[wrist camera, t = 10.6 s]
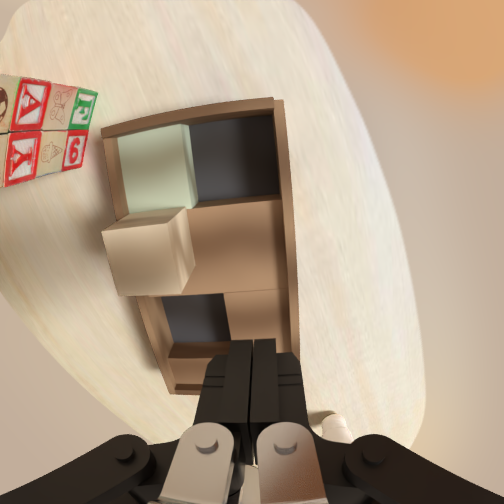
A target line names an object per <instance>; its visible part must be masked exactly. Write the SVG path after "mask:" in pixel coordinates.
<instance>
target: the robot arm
mask: <svg viewBox="0 0 504 504" xmlns="http://www.w3.org/2000/svg"><path fill="white" fill-rule="evenodd" d="M254 457H255V464H256V465H258V468H255V467H253V466H250V465H253V461H254ZM0 504H504V497H502V496H500V495H497V494H495V493H493V492H491V491H488V490H486V489H484V488H482V487H480V486H478V485H475V484H473V483H471V482H469V481H467V480H465V479H463V478H461V477H459V476H457V475H455V474H453V473H451V472H449V471H447V470H445V469H443V468H442V467H440V466H438V465H436V464H434V463H432V462H430V461H429V460H427V459H425V458H423V457H421V456H419V455H418V454H416V453H414V452H412V451H411V450H409V449H407V448H405V447H404V446H402V445H400V444H399V443H397V442H395V441H393V440H392V439H390V438H388V437H386V436H383V435H378V434H370V435H365V436H362V437H359V438H357V439H356V440H354V441H353V442H352V443H351V444H349V443H341V442H334V441H329V440H326V439H323V438H321V437H319V436H318V435H317V434H315V433H314V432H313V430H312V429H311V428H310V425H309V423H308V417H307V409H306V401H305V394H304V387H303V379H302V372H301V365H300V361H299V360H298V359H297V357H296V356H295V355H294V354H293V352H284V353H276V338H267V339H254V345H253V339H241V340H231V341H230V347H229V353H228V354H226V355H215V356H214V357H213V358H212V360H211V361H210V362H209V363H208V364H207V368H206V372H205V378H204V380H203V385H202V389H201V393H200V398H199V402H198V406H197V411H196V415H195V419H194V423H193V426H192V427H190V428H188V429H187V430H186V431H185V432H184V433H183V434H182V436H181V438H179V439H177V440H175V441H172V442H167V443H160V444H153V445H147V443H146V442H145V441H144V440H143V439H141V438H140V437H138V436H135V435H129V434H125V435H119V436H116V437H114V438H112V439H110V440H109V441H107V442H105V443H103V444H101V445H100V446H98V447H96V448H94V449H93V450H91V451H89V452H87V453H86V454H84V455H82V456H80V457H78V458H77V459H75V460H73V461H71V462H69V463H67V464H65V465H63V466H62V467H60V468H58V469H56V470H54V471H52V472H50V473H48V474H46V475H44V476H42V477H40V478H38V479H36V480H34V481H32V482H30V483H27V484H25V485H23V486H21V487H19V488H16V489H14V490H12V491H10V492H8V493H5V494H3V495H0Z"/></svg>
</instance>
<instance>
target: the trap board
mask: <svg viewBox="0 0 504 504" xmlns="http://www.w3.org/2000/svg"><path fill="white" fill-rule="evenodd" d="M101 135H102V138H103V143H104V150H105V158H106V165H107V171H108V177H109V183H110V189H111V195H112V200H113V206H114V211H115V216H116V220H117V221H119V220H120V219H122V218H124V217H125V216H127V215H129V214H132V213H139V212H146V211H154V210H161V209H169V208H177V207H186V210H187V217H188V223H189V229H190V235H191V242H192V247H193V253H194V259H195V267H194V269H193V271H192V273H191V275H190V277H189V279H188V281H187V283H186V285H185V287H184V289H183V291H182V293H181V294H167V295H142V296H136V300H137V303H138V306H139V310H140V313H141V316H142V319H143V322H144V325H145V328H146V331H147V334H148V337H149V340H150V343H151V346H152V349H153V352H154V354H155V357H156V360H157V363H158V365H159V368H160V371H161V373H162V376H163V378H164V381H165V384H166V386H167V389H168V391H169V393H170V394H178V395H200V393H201V389H202V385H203V380H204V378H205V372H206V368H207V364H208V363H209V362H210V361H211V360H212V358H213V357H214V356H215V355H226V354H228V353H229V347H230V341H231V340H241V339H253V345H254V339H267V338H276V353H284V352H293V354H294V355H295V356H296V357H297V359H298V360H299V361H300V335H299V303H298V279H297V259H296V241H295V225H294V210H293V197H292V184H291V172H290V160H289V149H288V139H287V129H286V119H285V110H284V101H283V100H274V98H273V97H268V98H257V99H247V100H238V101H230V102H223V103H216V104H209V105H203V106H196V107H191V108H185V109H180V110H175V111H170V112H165V113H160V114H156V115H151V116H147V117H143V118H138V119H134V120H130V121H127V122H123V123H119V124H115V125H112V126H108V127H105V128H102V129H101Z"/></svg>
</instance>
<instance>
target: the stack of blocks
mask: <svg viewBox="0 0 504 504" xmlns="http://www.w3.org/2000/svg"><path fill="white" fill-rule="evenodd" d="M97 95H98V92H95V91H92V90H88V89H85V88H81V87H74V86H66V85H61V84H55V83H51V82H50V81H46V80H40V79H34V78H27V77H18V76H11V75H6V74H0V188H1V187H8V186H12V185H16V184H19V183H22V182H26V181H28V180H32V179H34V178H37V177H41V176H44V175H47V174H52V173H56V172H63V171H67V170H70V169H76V168H80V167H82V162H83V157H84V151H85V146H86V141H87V136H88V132H89V130H88V129H89V125H90V121H91V117H92V113H93V109H94V105H95V101H96V98H97Z"/></svg>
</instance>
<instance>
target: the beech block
mask: <svg viewBox="0 0 504 504" xmlns="http://www.w3.org/2000/svg"><path fill="white" fill-rule="evenodd" d="M101 232H102V236H103V241H104V245H105V249H106V253H107V257H108V261H109V265H110V268H111V272H112V276H113V279H114V283H115V286H116V290H117V293H118V296H142V295H167V294H181V293H182V291H183V289H184V287H185V285H186V283H187V281H188V279H189V277H190V275H191V273H192V271H193V269H194V267H195V259H194V253H193V247H192V242H191V235H190V229H189V223H188V217H187V210H186V207H177V208H169V209H161V210H154V211H146V212H139V213H132V214H129V215H127V216H125V217H124V218H122V219H120V220H119V221H117V222H115V223H114V224H112V225H111V226H109V227H108V228H106V229H104V230H103V231H101Z"/></svg>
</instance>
